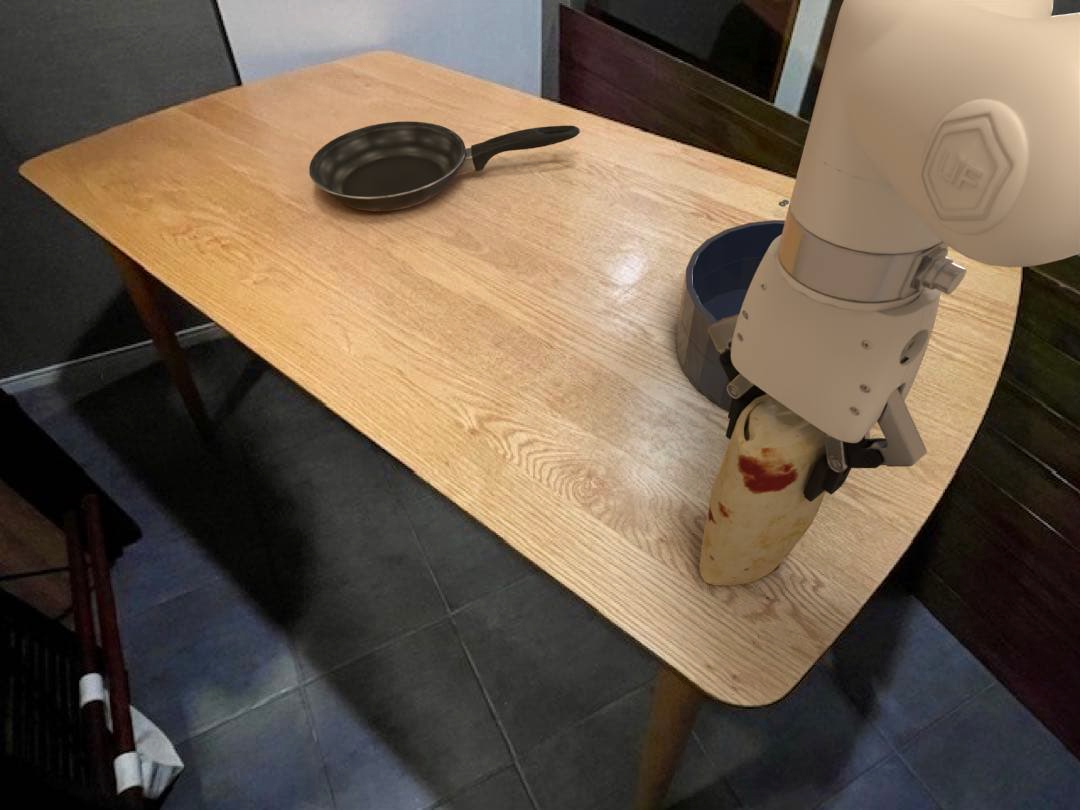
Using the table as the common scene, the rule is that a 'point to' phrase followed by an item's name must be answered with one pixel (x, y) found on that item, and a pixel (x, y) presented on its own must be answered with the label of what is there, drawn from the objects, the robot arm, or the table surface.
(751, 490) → the food model
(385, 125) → the frying pan
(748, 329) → the robot arm
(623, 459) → the table surface
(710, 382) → the pot
